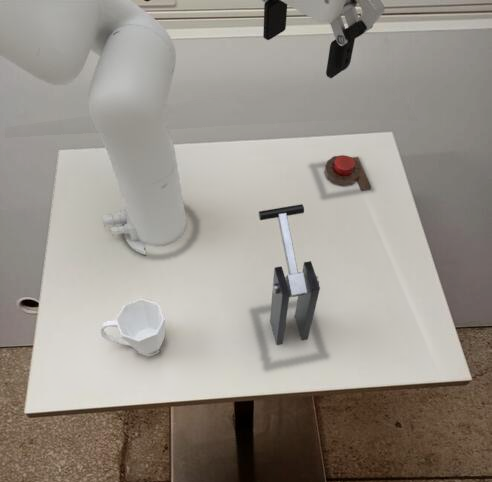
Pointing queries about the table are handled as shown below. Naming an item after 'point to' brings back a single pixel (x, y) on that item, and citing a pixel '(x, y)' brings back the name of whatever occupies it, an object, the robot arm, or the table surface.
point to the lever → (288, 247)
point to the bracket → (304, 303)
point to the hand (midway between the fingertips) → (304, 52)
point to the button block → (357, 176)
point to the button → (344, 165)
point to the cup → (139, 326)
